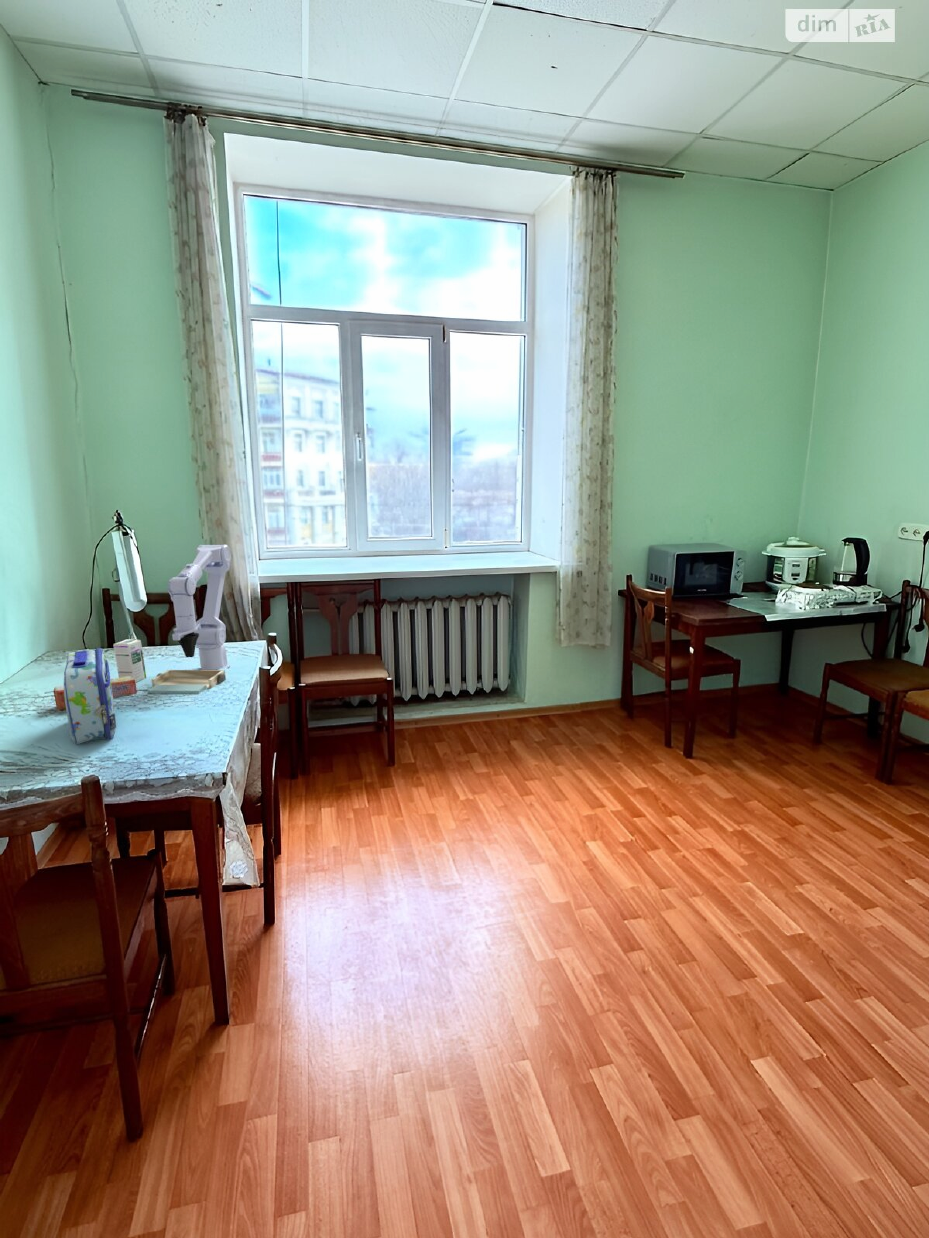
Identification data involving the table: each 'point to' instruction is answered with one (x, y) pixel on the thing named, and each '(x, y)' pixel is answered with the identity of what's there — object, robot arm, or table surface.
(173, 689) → the tailgate
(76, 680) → the lunch box
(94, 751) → the table surface
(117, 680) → the snack package
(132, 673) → the syrup box
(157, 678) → the beige tray
